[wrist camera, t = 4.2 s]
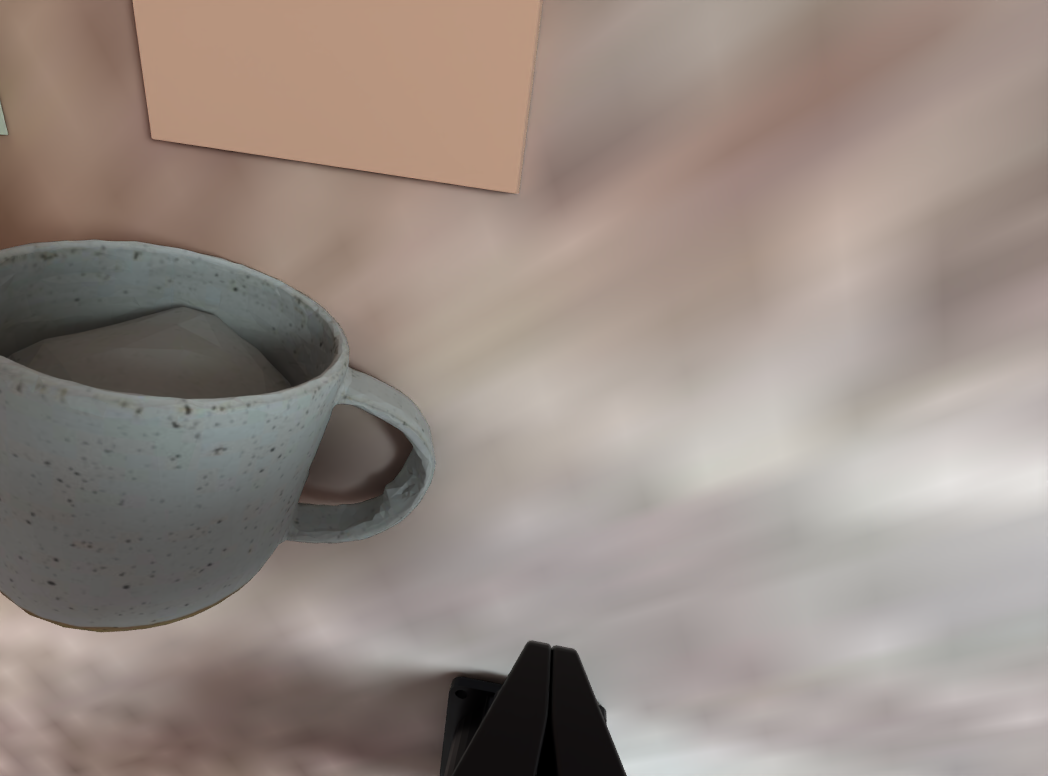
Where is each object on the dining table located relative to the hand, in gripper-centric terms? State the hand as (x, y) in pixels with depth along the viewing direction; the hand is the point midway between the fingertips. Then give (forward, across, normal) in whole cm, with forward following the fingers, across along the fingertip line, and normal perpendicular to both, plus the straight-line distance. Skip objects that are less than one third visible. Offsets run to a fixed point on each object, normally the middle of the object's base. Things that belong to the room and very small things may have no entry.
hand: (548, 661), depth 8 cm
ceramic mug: (+8, +9, 0) cm, 13 cm away
